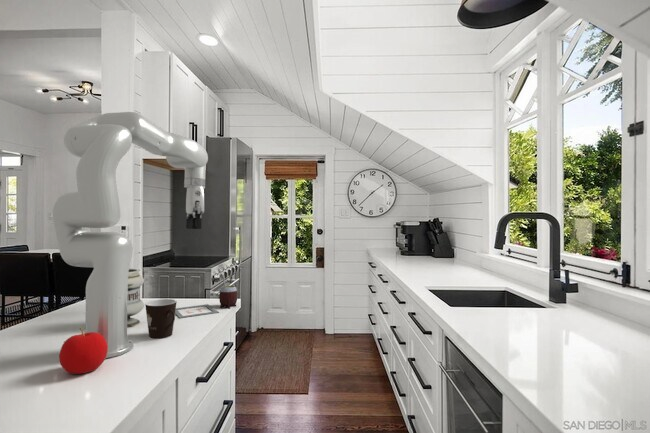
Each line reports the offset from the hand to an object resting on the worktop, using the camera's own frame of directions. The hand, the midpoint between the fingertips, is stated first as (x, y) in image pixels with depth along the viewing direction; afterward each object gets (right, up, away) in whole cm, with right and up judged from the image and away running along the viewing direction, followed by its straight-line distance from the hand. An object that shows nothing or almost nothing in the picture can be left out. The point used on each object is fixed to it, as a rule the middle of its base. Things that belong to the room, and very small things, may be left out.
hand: (193, 228), depth 134 cm
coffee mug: (+1, -32, -29) cm, 43 cm away
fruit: (-6, -31, -52) cm, 61 cm away
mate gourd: (+11, -32, +6) cm, 34 cm away
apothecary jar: (-17, -31, -17) cm, 40 cm away
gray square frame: (+1, -31, 0) cm, 31 cm away
